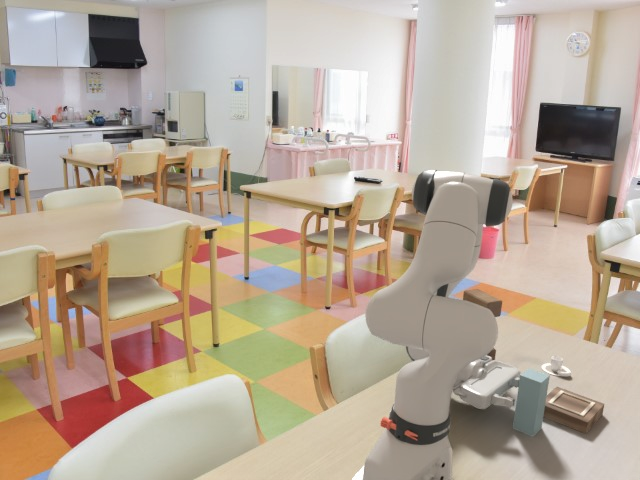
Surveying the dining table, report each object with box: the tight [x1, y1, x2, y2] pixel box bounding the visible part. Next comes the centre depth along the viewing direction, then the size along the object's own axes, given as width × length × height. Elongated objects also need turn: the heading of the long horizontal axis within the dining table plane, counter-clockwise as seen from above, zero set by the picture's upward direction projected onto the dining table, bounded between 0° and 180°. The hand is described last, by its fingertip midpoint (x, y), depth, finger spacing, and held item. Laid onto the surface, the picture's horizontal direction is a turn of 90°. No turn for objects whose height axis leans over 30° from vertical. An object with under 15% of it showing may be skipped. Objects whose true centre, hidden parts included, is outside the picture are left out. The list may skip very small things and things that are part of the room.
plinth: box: [543, 386, 605, 435], centre depth 149 cm, size 12×12×3 cm
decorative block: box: [462, 288, 503, 360], centre depth 175 cm, size 11×6×20 cm, turn 25°
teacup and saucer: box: [541, 355, 572, 377], centre depth 172 cm, size 9×8×4 cm
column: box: [512, 367, 551, 438], centre depth 141 cm, size 5×5×14 cm
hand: (522, 396), depth 142 cm, fingers open, 8 cm apart
